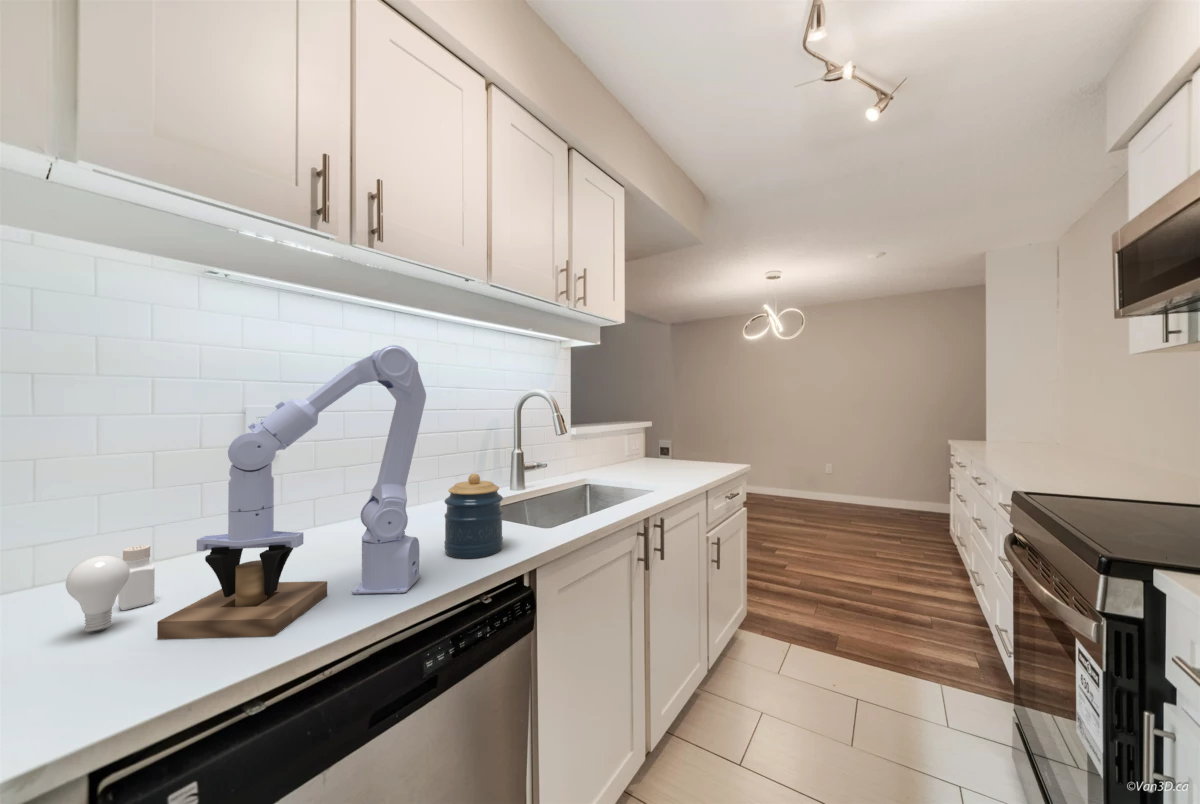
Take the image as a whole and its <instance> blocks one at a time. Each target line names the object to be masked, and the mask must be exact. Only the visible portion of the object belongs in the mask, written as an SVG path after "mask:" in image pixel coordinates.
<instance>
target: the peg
mask: <svg viewBox="0 0 1200 804" xmlns="http://www.w3.org/2000/svg"><path fill="white" fill-rule="evenodd" d="M265 601H267V595H265V593H264V571H263V566H262V562H261V559H260V560H259V559H257V560H251V561H246V562H242V563H240V564H239V565H237V566H236V574H235V607H257V606H259V605H260V604H262V603H263V602H265Z"/></svg>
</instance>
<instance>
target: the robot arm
mask: <svg viewBox="0 0 1200 804" xmlns="http://www.w3.org/2000/svg"><path fill="white" fill-rule="evenodd" d="M372 382H377V383H379V384H381V385H382V386H383V387H385V388H386V389H387V391H388V392H389V393H390V394H391V396H392V397H393V398H394V400H395V406H394V410H393V413H392V418H391V422H390V427H389V431H388V435H387V439H386V443H385V448H384V452H383V455H382V460H381V463H380V468H379V473H378V476H377V480H376V483H375V485H374V486H373V488H372V489H371V493H370V497H369V499H368V500H367V502H366V503H365V504H364V505H363V507H362V509H361V511H360V521H361V523H362V524H363V526H364V527H366V529H365V532H364V533H363V534H362V536H361V583H359V584H358V585H357V586H356V587H355V588H353V589H352V590H351V594H355V595H358V594H360V595H361V594H394V593H395V594H398V593H399V594H400V593H403V594H404V593H406V592H408V591H409V590H410V588H412V586H413V585H414V584H415V583H417V581H418V580H419V579H420V578H421V573H420V540H419V538H418V537H416V536H409V535H407V534H406V528H407V526H408V522H409V521H408V519H409V517H408V514H407V513H408V512H407V508H406V507H407V502H408V495H407V489H406V487H407V482H408V477H409V474H410V470H411V465H412V460H413V456H414V452H415V448H416V443H417V439H418V435H419V430H420V427H421V421H422V416H423V413H424V409H425V404H426V400H427V393H426V390H425V387H424V383H423V381H422V377H421V375H420V372H419V362H418V361H417V359H415V358H414V357H413V355H412V354H411V353H410V352H409V350H407V349H406V348H405V347H403V346H402V345H401V346H400V345H397V344H395V345H394V344H390V345H387V346H384V347H382V348H381V349H377V350H374V351H373V352H372V353H371V354H369V355H367V356H364V357H363V358H361V359H359V360H357V361H355V362H353V363H351V364H350V365H349V364H348V366H346V367H345V368H344V369H343V370H341V371H340V372H338V374H336V375H335V376H334V377H332V378H331V379H330V380H328V381H327V382H325V384H323V385H322V386H321V387H319V388H317V389H316V390H315V391H313V393H311V394H310V395H308V397H306V398H305V399H299V398H297V399H296V398H295V399H294V398H290V399H289V400H288V401H286V402H284V401H282V400H281V401H279V402H278V403H277V404H275V406H274V407H275V408H276V409H275V410H274V411H272V412H271V413H270V414H268V415H267V416H265V417H264V418H262V419H261V420H260V421H259V422H256V423H255V422H251V424H249V425H248V426H247V428H248V429H249V430H250V431H251V432H250V431H249V432H245V433H242V434H239V435H238V436H237V437H235V438H234V439H233V440H232V441H231V443H230V445H229V447H228V450H227V456H228V460H229V462H230V463H231V465H230V468H229V470H228V472H229V473H228V475H229V477H230V479H229V481H228V493H227V494H228V502H227V503H228V504H227V505H228V509H227V511H228V513H227V515H228V517H227V518H228V520H227V521H228V522H227V523H228V525H227V526H228V527H227V529H228V533H226V534H225V533H223V534H216V535H215V534H212V535H211V534H209V535H204V536H202V537H201V536H200V537H198V538H197V539H196V552H205V551H210V553H209V554H207V555H205V557H204V559H205V563H206V564H208V566H209V567H210V568H211V569H212V571H213V573H214V574H215V576H216V578H217V580H218V582H219V585H220V587H221V589H222V590H223V594H224V597H230V596H231V595H233V594H235V574H236V566H237V565H239V564H241V559H242V554H243V550H244V549H263V548H268V549H266V550H264V551H261V553H259V558H260V560H261V562H262V566H263V571H264V593H265V595H271V594H272V593H273V592H275V591H276V590H277V587H278V583H279V582H280V579H281V575H282V573H283V570H284V567H285V565H286V563H287V560H288V559H289V557H290V556H291V553H292V552H293V551H294V549H295V548H299V547H300V546H302V545H304V532H303V531H301V532H299V531H298V532H297V531H296V532H295V531H291V532H290V531H279V530H274V525H275V524H274V523H275V522H274V521H275V520H274V518H275V517H274V516H275V515H274V512H275V511H274V510H275V508H274V507H275V506H274V498H275V497H274V491H275V490H274V489H275V485H274V484H275V482H274V481H275V479H274V478H275V477H274V476H273V475H272V472H273V471H272V469H273V467H272V466H273V465H272V463H273V461H274V459H275V458H276V456H277V455H276V454H277V452H278V451H281V450H283V451H284V450H286V449H287V448H289V447H290V446H291V445H293V444H294V443H295V442H296V441H297V440H299V439H300V438H301V437H303V436H304V435H305V434H307V433H308V432H309V431H311V430H312V429H313V428H314V427H316V426H317V425H318V423H319V422H318V421H319V414H320V413H321V412H322V411H324V410H325V409H327V408H328V407H330V406H331V405H332V404H334V403H335V402H336V401H338V400H339V399H341V398H342V397H343V396H344V395H346V394H347V393H349V392H351V390H353V389H355V388H356V387H358V386H360V385H363V384H368V383H372Z"/></svg>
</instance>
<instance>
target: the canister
mask: <svg viewBox="0 0 1200 804" xmlns="http://www.w3.org/2000/svg"><path fill="white" fill-rule="evenodd" d="M499 490H500V487H499V486H498V485H496V484H494V482H492V481H489V480H481V477H480V475H479V474H478V473H475V472H474V473H471V474H470V475H469V476H468V479H467V480H466V481H461V482H457V483H454V485H453V486H451V487H450V488H448V492H449V493H450V494H449V496H448V497H446V498H445V499H444V500H443V501H444V504H445V505H446V513H444V519H445V522H444V524H445V525H444V527H445V530H444V532H445V537H444V538H445V539H444V550H445V554H446V555H447V556H449V557H453V558H455V559H457V558H458V559H476V558H477V559H478V558H484V557H488V556H491V555H494V554H496V553H498V552H500V551H501V550H502V548H503V543H504V540H503V539H504V537H503V514H504V512H503V510H502V508H501V507H502V506H501V502H502V501H503V500H504V498H503V496H502V495H501V494H500V493H499V492H498V491H499Z"/></svg>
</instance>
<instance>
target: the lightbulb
mask: <svg viewBox="0 0 1200 804" xmlns="http://www.w3.org/2000/svg"><path fill="white" fill-rule="evenodd" d="M129 575H130V569H129V566H128V564H127V563H126V562H125V561H124V560H123V558H121V557H119V556H116V555H110V554H104V555H97V556H92V557H89V558H87V559H84V560H83V561H81V562H80V563H78V564H77V565H75V566H74V567H73V568H72V569H71V570H70V572H68V575H67V577H66V579H65V589H66V591H67V593H68V595H69V596H70V597H72V598H73V599H74V601H76V602H78V604H79V606H80V609H81V611H82V613H83V614H84V631H85V632H91V633H97V632H102V631H104V630H105V629H107V628H108V627H109V626H111V625H112V618H113V616H112V615H113V612H112V610H113V607H114V605H115V603H116V599H117V598H118V593H119V592H120V591H121V589H122V588H123V587H124V585H125V584H126V582H127V581H128V578H129Z"/></svg>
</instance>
